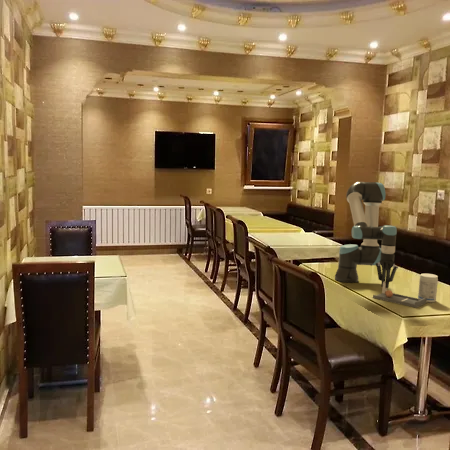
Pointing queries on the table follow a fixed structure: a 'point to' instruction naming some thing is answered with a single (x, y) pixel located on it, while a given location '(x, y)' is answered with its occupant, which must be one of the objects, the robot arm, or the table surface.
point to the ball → (389, 293)
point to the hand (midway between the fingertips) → (384, 292)
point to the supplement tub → (428, 287)
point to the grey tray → (402, 300)
